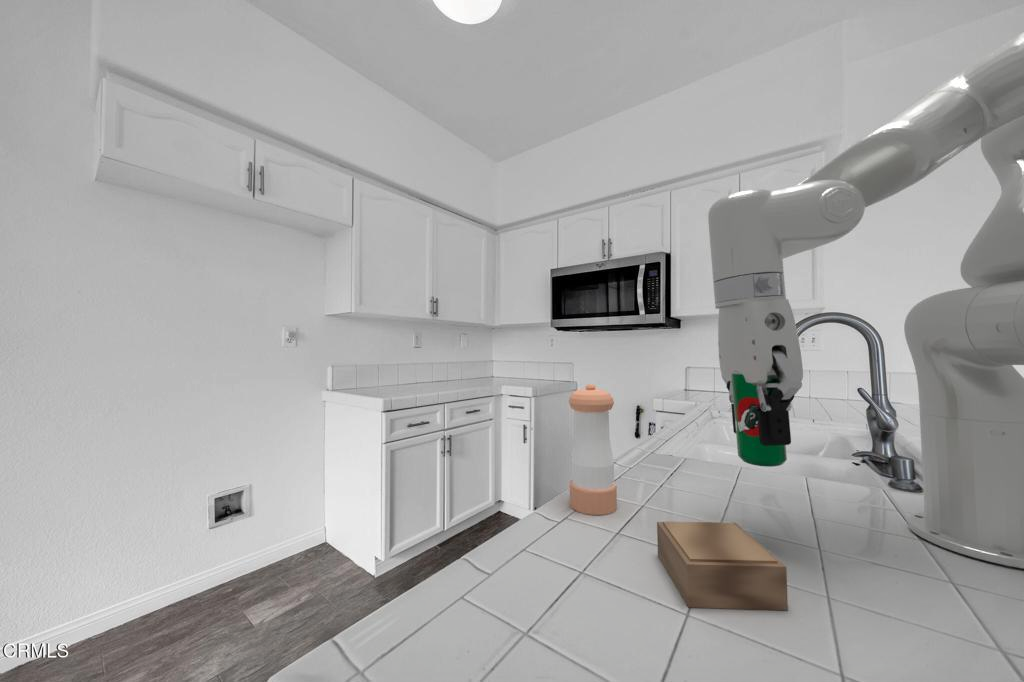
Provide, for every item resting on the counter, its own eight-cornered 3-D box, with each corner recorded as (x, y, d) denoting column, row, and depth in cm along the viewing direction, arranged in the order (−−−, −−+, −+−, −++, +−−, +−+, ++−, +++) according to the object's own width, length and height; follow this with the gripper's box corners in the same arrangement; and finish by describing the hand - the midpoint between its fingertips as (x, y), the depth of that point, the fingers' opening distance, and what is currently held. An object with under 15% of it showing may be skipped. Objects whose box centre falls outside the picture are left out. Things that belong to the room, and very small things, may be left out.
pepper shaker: (616, 498, 62) (614, 382, 62) (617, 517, 55) (614, 386, 55) (572, 495, 64) (570, 382, 64) (567, 512, 57) (564, 386, 57)
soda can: (796, 468, 43) (787, 364, 44) (748, 468, 44) (739, 367, 45) (774, 455, 48) (767, 363, 49) (732, 456, 49) (724, 365, 50)
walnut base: (736, 557, 44) (735, 520, 44) (787, 610, 35) (786, 563, 35) (657, 555, 44) (656, 519, 44) (688, 607, 35) (687, 561, 35)
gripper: (833, 278, 38) (849, 456, 38) (742, 300, 55) (752, 424, 55) (757, 283, 39) (772, 460, 38) (690, 304, 56) (699, 426, 55)
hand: (760, 437), depth 46 cm, fingers closed on soda can, 5 cm apart
